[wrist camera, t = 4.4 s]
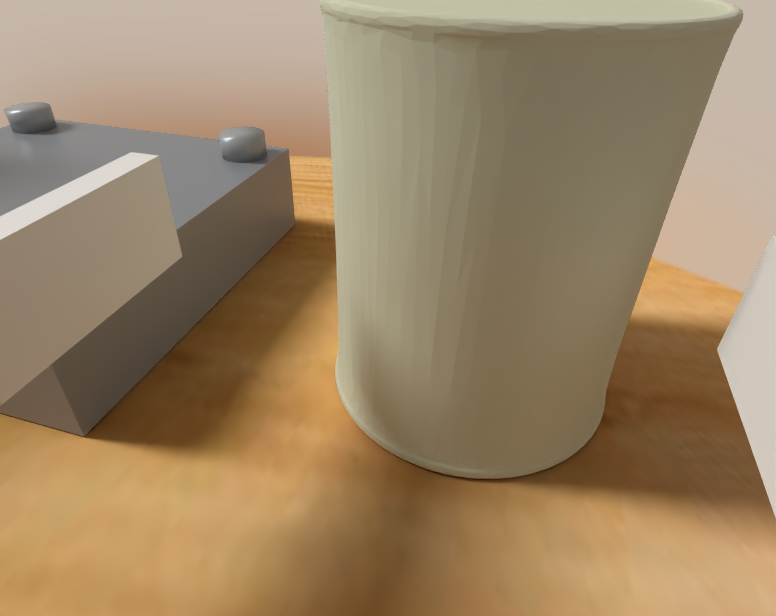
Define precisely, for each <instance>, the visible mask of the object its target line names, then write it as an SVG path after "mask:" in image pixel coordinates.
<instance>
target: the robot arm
mask: <svg viewBox="0 0 776 616" xmlns="http://www.w3.org/2000/svg"><path fill="white" fill-rule="evenodd" d="M181 257H182V253H181V249H180V244H179V240H178V236H177V231H176V227H175V223H174V218H173V214H172V210H171V206H170V201H169V197H168V193H167V188H166V184H165V180H164V176H163V171H162V167H161V163H160V158H159V156H157V155H150V154H142V153H134V152H130V153H128V154H126V155H124V156H122V157H120V158H118V159H116V160H114V161H112V162H110V163H108V164H106V165H104V166H102V167H100V168H98V169H96V170H94V171H92V172H90V173H88V174H86V175H84V176H81V177H79V178H77V179H75V180H73V181H71V182H69V183H67V184H65V185H63V186H61V187H59V188H57V189H55V190H53V191H51V192H49V193H47V194H45V195H43V196H41V197H39V198H37V199H34V200H32V201H30V202H28V203H26V204H24V205H22V206H20V207H18V208H16V209H14V210H12V211H10V212H8V213H6V214H4V215H2V216H0V406H1V405H2V404H3V403H5V402H6V401H7V400H8V399H9V398H11V397H12V396H13V395H14V394H16V393H17V392H18V391H19V390H20V389H22V388H23V387H24V386H25V385H26V384H28V383H29V382H30V381H31V380H33V379H34V378H35V377H36V376H37V375H39V374H40V373H41V372H42V371H44V370H45V369H46V368H47V367H48V366H50V365H51V364H52V363H53V362H54V361H56V360H57V359H58V358H59V357H61V356H62V355H63V354H64V353H65V352H67V351H68V350H69V349H70V348H72V347H73V346H74V345H75V344H76V343H78V342H79V341H80V340H81V339H83V338H84V337H85V336H86V335H87V334H89V333H90V332H91V331H92V330H93V329H95V328H96V327H97V326H98V325H100V324H101V323H102V322H103V321H104V320H106V319H107V318H108V317H109V316H111V315H112V314H113V313H114V312H115V311H117V310H118V309H119V308H120V307H121V306H123V305H124V304H125V303H126V302H128V301H129V300H130V299H131V298H132V297H134V296H135V295H136V294H137V293H139V292H140V291H141V290H142V289H143V288H145V287H146V286H147V285H148V284H149V283H151V282H152V281H153V280H154V279H156V278H157V277H158V276H159V275H160V274H162V273H163V272H164V271H165V270H167V269H168V268H169V267H170V266H171V265H173V264H174V263H175V262H176V261H178V260H179V259H180V258H181ZM717 351H718V354H719V357H720V360H721V363H722V366H723V368H724V371H725V374H726V377H727V380H728V383H729V386H730V389H731V391H732V394H733V397H734V400H735V403H736V406H737V409H738V412H739V414H740V417H741V420H742V423H743V426H744V429H745V432H746V434H747V437H748V440H749V443H750V446H751V449H752V452H753V455H754V457H755V460H756V463H757V466H758V469H759V472H760V475H761V478H762V480H763V483H764V486H765V489H766V492H767V495H768V498H769V500H770V503H771V506H772V509H773V512H774V515H775V518H776V236H775V235H772V237H771V239H770V241H769V244H768V246H767V247H766V250H765V252H764V254H763V256H762V258H761V260H760V262H759V264H758V266H757V268H756V270H755V272H754V274H753V276H752V278H751V280H750V283H749V284H748V287H747V288H746V291H745V293H744V295H743V297H742V299H741V301H740V303H739V305H738V307H737V309H736V311H735V313H734V315H733V317H732V319H731V321H730V323H729V325H728V327H727V330H726V332H725V334H724V336H723V338H722V340H721V342H720V344H719V346H718V348H717Z"/></svg>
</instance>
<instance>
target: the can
mask: <svg viewBox="0 0 776 616" xmlns="http://www.w3.org/2000/svg"><path fill="white" fill-rule="evenodd" d="M319 2H320V7H321V11H322V16H323V26H324V38H325V39H324V40H325V53H326V67H327V81H328V95H329V114H330V134H331V154H332V155H331V156H332V176H333V197H334V218H335V239H336V265H337V294H338V328H339V351H338V354H337V359H336V366H335V377H336V384H337V389H338V392H339V395H340V398H341V400H342V402H343V405H344V407H345V408H346V410H347V412H348V413H349V415H350V416H351V418H352V419H353V421H354V422H355V423H356V424H357V426H358V427H359V428H360V429H361V430H362V431H363V432H364V433H365V434H366V435H367V436H368V437H369V438H371V439H372V440H373V441H374V442H376V443H377V444H378V445H379V446H381V447H383V448H384V449H386V450H387V451H389V452H390V453H392V454H394V455H396V456H398V457H400V458H402V459H403V460H405V461H408V462H410V463H413V464H415V465H418V466H420V467H423V468H425V469H428V470H432V471H435V472H439V473H443V474H447V475H452V476H458V477H466V478H476V479H500V478H513V477H518V476H524V475H529V474H532V473H535V472H538V471H542V470H545V469H548V468H550V467H552V466H554V465H557V464H559V463H561V462H563V461H565V460H566V459H568V458H569V457H571V456H572V455H574V454H575V453H576V452H577V451H578V450H580V449H581V448H582V447H583V446H584V445H585V444H586V443H587V442H588V441H589V440H590V438H591V437H592V436H593V434H594V433H595V431H596V429H597V428H598V426H599V424H600V421H601V419H602V416H603V412H604V408H605V400H606V390H607V387H608V383H609V380H610V376H611V373H612V370H613V367H614V363H615V360H616V357H617V354H618V351H619V348H620V345H621V342H622V339H623V336H624V333H625V331H626V328H627V325H628V322H629V319H630V316H631V313H632V311H633V308H634V305H635V302H636V299H637V296H638V294H639V291H640V288H641V285H642V282H643V279H644V276H645V274H646V271H647V268H648V265H649V262H650V259H651V257H652V254H653V251H654V248H655V245H656V242H657V240H658V237H659V234H660V231H661V228H662V225H663V222H664V220H665V217H666V214H667V211H668V208H669V206H670V203H671V200H672V197H673V195H674V192H675V189H676V186H677V184H678V181H679V178H680V176H681V173H682V170H683V167H684V165H685V162H686V159H687V156H688V154H689V151H690V148H691V146H692V143H693V140H694V138H695V135H696V132H697V129H698V127H699V124H700V121H701V118H702V115H703V113H704V110H705V107H706V105H707V102H708V99H709V97H710V94H711V91H712V89H713V86H714V83H715V80H716V78H717V75H718V72H719V70H720V67H721V65H722V62H723V60H724V58H725V55H726V53H727V51H728V48H729V46H730V43H731V41H732V39H733V36H734V34H735V32H736V30H737V28H738V27H739V25H740V24H741V22H742V18H743V12H742V10H741V9H740V8H739V7H738V6H736V5H733V4H730V3H727V2H724V1H721V0H319Z"/></svg>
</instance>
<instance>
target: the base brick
mask: <svg viewBox="0 0 776 616" xmlns="http://www.w3.org/2000/svg"><path fill="white" fill-rule="evenodd" d="M5 113H6V116H7V118H8V121H9V124H10V125H9V126H6V127H3V128H0V216H2V215H4V214H6V213H8V212H10V211H12V210H14V209H16V208H18V207H20V206H22V205H24V204H26V203H28V202H30V201H32V200H34V199H37V198H39V197H41V196H43V195H45V194H47V193H49V192H51V191H53V190H55V189H57V188H59V187H61V186H63V185H65V184H67V183H69V182H71V181H73V180H75V179H77V178H79V177H81V176H84V175H86V174H88V173H90V172H92V171H94V170H96V169H98V168H100V167H102V166H104V165H106V164H108V163H110V162H112V161H114V160H116V159H118V158H120V157H122V156H124V155H126V154H128V153H130V152H134V153H142V154H150V155H157V156H159V158H160V163H161V167H162V171H163V176H164V180H165V184H166V188H167V193H168V197H169V201H170V206H171V210H172V214H173V218H174V223H175V227H176V231H177V236H178V240H179V244H180V249H181V253H182V257H181V258H180V259H179V260H178V261H176V262H175V263H174V264H173V265H171V266H170V267H169V268H168V269H167V270H165V271H164V272H163V273H162V274H160V275H159V276H158V277H157V278H156V279H154V280H153V281H152V282H151V283H149V284H148V285H147V286H146V287H145V288H143V289H142V290H141V291H140V292H139V293H137V294H136V295H135V296H134V297H132V298H131V299H130V300H129V301H128V302H126V303H125V304H124V305H123V306H121V307H120V308H119V309H118V310H117V311H115V312H114V313H113V314H112V315H111V316H109V317H108V318H107V319H106V320H104V321H103V322H102V323H101V324H100V325H98V326H97V327H96V328H95V329H93V330H92V331H91V332H90V333H89V334H87V335H86V336H85V337H84V338H83V339H81V340H80V341H79V342H78V343H76V344H75V345H74V346H73V347H72V348H70V349H69V350H68V351H67V352H65V353H64V354H63V355H62V356H61V357H59V358H58V359H57V360H56V361H54V362H53V363H52V364H51V365H50V366H48V367H47V368H46V369H45V370H44V371H42V372H41V373H40V374H39V375H37V376H36V377H35V378H34V379H33V380H31V381H30V382H29V383H28V384H26V385H25V386H24V387H23V388H22V389H20V390H19V391H18V392H17V393H16V394H14V395H13V396H12V397H11V398H9V399H8V400H7V401H6V402H5V403H3V404H2V405H1V406H0V413H2V414H6V415H9V416H13V417H16V418H20V419H23V420H27V421H30V422H34V423H38V424H41V425H45V426H48V427H52V428H55V429H59V430H62V431H66V432H69V433H73V434H76V435H80V436H83V437H84V436H85V435H86V434H87V433H88V432H89V431H90V430H91V429H92V428H93V427H94V426H95V425H96V424H97V423H98V422H99V421H100V420H101V419H102V418H103V417H104V416H105V415H106V414H107V413H108V412H109V411H110V410H111V409H112V408H113V407H114V406H115V405H116V404H117V403H118V402H119V401H120V400H121V399H122V398H123V397H124V396H125V395H126V394H127V393H128V392H129V391H130V390H131V389H132V388H133V387H134V386H135V385H136V384H137V383H138V382H139V381H140V380H141V379H142V378H143V377H144V376H145V375H146V374H147V373H148V372H149V371H150V370H151V369H152V368H153V367H154V366H155V365H156V364H157V363H158V362H159V361H160V360H161V359H162V358H163V357H164V356H165V355H166V354H167V353H168V352H169V351H170V350H171V349H172V348H173V347H174V346H175V345H176V344H177V343H178V342H179V341H180V340H181V339H182V338H183V337H184V336H185V335H186V334H187V333H188V332H189V331H190V330H191V329H192V328H193V327H194V326H195V325H196V324H197V323H198V322H199V321H200V320H201V319H202V318H203V317H204V316H205V315H206V314H207V313H208V312H209V311H210V310H211V309H212V308H213V307H214V306H215V305H216V304H217V303H218V302H219V301H220V300H221V299H222V298H223V297H224V296H225V295H226V294H227V293H228V292H229V291H230V290H231V289H232V288H233V287H234V286H235V285H236V284H237V283H238V282H239V281H240V280H241V279H242V278H243V277H244V276H245V274H246V273H247V272H248V271H249V270H250V269H251V268H252V267H253V266H254V265H255V264H256V263H257V262H258V261H259V260H260V259H261V258H262V257H263V256H264V255H265V254H266V253H267V252H268V251H269V250H270V249H271V248H272V247H273V246H274V245H275V244H276V243H277V242H278V241H279V240H280V239H281V238H282V237H283V236H284V235H285V234H286V233H287V232H288V231H289V230H290V229H291V228H292V227H293V226H294V225H295V216H294V205H293V193H292V182H291V171H290V160H289V150H288V149H287V148H278V147H270V146H266V143H265V134H264V131H263V130H261V129H259V128H255V127H235V128H229V129H226V130H223V131H222V132H220V133H219V139H220V140H215V139H207V138H199V137H191V136H183V135H175V134H166V133H159V132H151V131H143V130H135V129H126V128H118V127H111V126H103V125H95V124H87V123H78V122H71V121H62V120H55V119H54V116H53V113H52V110H51V107H50V105H49V104H47V103H38V102H33V103H22V104H17V105H12V106H9V107H7V108H5Z"/></svg>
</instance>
